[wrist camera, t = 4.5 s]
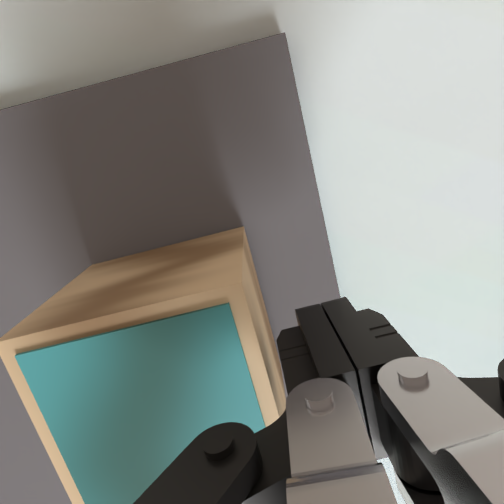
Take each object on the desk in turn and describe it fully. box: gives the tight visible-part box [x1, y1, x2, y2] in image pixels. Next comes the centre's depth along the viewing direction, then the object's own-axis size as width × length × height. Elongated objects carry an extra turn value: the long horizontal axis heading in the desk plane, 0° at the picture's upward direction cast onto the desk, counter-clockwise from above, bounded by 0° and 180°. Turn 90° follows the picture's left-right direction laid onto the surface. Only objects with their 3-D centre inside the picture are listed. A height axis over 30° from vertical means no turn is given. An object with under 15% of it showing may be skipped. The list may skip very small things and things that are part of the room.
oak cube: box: [0, 226, 286, 504], centre depth 13 cm, size 6×6×6 cm
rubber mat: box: [0, 33, 340, 504], centre depth 16 cm, size 24×18×1 cm
